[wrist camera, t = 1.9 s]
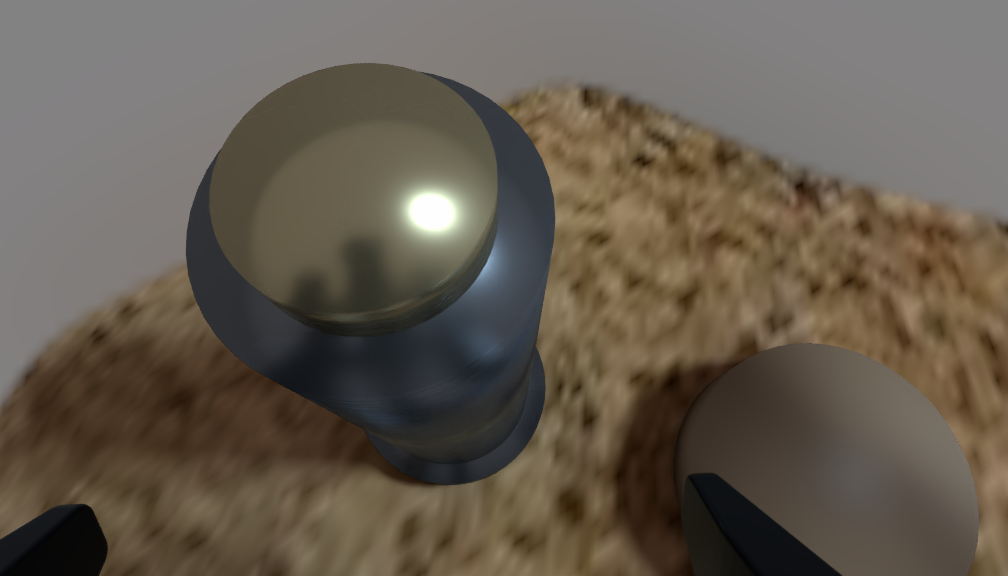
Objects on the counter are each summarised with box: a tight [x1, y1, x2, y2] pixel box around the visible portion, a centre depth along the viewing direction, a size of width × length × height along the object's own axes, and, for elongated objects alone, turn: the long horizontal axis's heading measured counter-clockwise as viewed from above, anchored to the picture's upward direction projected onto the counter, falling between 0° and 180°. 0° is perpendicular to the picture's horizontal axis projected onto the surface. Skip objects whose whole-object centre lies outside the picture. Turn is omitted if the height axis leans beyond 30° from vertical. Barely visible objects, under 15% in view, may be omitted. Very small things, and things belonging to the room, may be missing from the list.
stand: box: [674, 343, 979, 576], centre depth 18 cm, size 8×8×2 cm
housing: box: [186, 63, 555, 485], centre depth 14 cm, size 6×6×14 cm
